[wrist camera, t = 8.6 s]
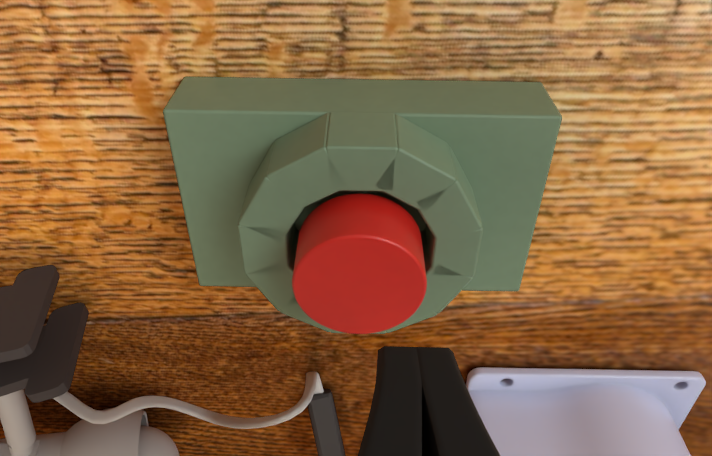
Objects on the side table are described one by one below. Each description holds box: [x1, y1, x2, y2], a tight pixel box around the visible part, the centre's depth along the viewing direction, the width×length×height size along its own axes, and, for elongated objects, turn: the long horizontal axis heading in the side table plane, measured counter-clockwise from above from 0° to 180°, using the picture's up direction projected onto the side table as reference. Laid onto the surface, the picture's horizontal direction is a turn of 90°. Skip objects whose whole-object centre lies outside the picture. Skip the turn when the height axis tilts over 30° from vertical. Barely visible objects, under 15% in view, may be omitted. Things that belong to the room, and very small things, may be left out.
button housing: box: [163, 77, 562, 334], centre depth 16 cm, size 10×6×4 cm, turn 89°
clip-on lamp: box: [0, 265, 346, 456], centre depth 22 cm, size 12×6×18 cm
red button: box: [292, 193, 427, 334], centre depth 14 cm, size 3×3×2 cm
